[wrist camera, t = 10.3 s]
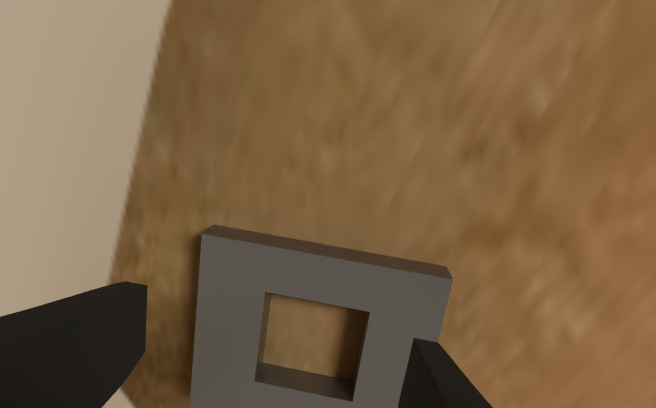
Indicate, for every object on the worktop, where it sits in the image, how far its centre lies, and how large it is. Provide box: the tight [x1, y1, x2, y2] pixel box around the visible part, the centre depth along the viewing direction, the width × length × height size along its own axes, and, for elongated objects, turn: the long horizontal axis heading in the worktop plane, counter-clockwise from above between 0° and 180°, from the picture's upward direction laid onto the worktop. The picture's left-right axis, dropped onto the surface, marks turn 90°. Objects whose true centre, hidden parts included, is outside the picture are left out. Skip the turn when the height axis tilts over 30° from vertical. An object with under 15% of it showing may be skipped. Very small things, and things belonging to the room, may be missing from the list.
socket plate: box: [190, 225, 453, 408], centre depth 20 cm, size 10×12×2 cm
